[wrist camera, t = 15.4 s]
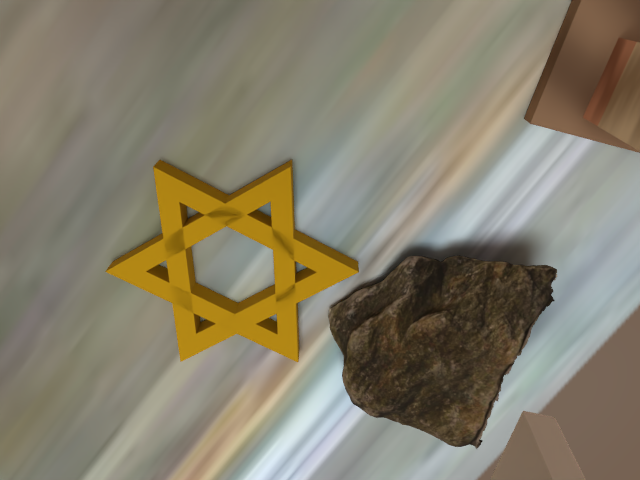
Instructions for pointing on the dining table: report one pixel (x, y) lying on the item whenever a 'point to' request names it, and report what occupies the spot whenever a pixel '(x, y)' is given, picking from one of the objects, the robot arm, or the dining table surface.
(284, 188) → the star of david
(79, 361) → the dining table surface
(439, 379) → the rock
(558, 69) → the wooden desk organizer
